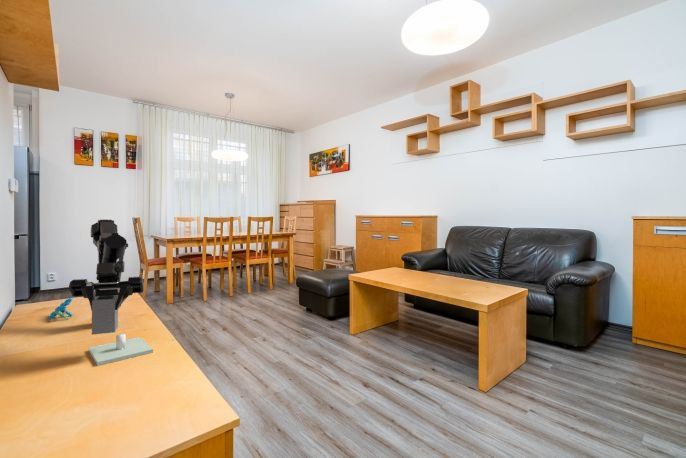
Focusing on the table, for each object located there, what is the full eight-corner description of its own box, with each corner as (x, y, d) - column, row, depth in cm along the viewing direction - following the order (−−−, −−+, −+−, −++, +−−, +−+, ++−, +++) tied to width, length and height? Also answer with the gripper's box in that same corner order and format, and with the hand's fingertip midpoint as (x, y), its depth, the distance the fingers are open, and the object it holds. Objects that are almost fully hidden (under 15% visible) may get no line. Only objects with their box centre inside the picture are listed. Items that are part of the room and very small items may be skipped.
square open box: (96, 328, 102) (96, 296, 101) (117, 326, 104) (118, 295, 104) (91, 334, 97) (91, 300, 96) (114, 332, 99) (115, 299, 99)
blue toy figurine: (49, 311, 135) (71, 293, 138) (62, 319, 138) (83, 301, 141) (43, 322, 126) (67, 303, 129) (57, 331, 129) (80, 311, 132)
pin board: (88, 350, 102) (88, 334, 102) (139, 339, 112) (140, 325, 112) (97, 365, 93) (97, 348, 92) (153, 352, 103) (153, 336, 102)
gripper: (70, 253, 99) (58, 297, 90) (143, 251, 107) (139, 292, 98) (77, 274, 107) (67, 318, 97) (145, 272, 115) (141, 312, 105)
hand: (104, 310), depth 99 cm, fingers closed on square open box, 6 cm apart
